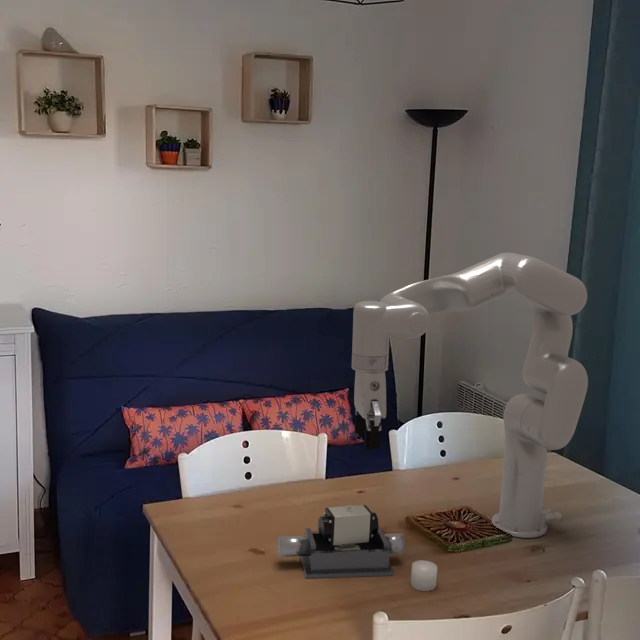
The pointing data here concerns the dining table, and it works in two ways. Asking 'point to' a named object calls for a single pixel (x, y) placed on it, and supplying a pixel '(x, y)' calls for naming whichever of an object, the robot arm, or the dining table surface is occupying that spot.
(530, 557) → the dining table surface
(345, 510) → the pneumatic valve
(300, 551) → the pipe bracket
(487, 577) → the dining table surface
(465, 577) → the dining table surface
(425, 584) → the end cap
